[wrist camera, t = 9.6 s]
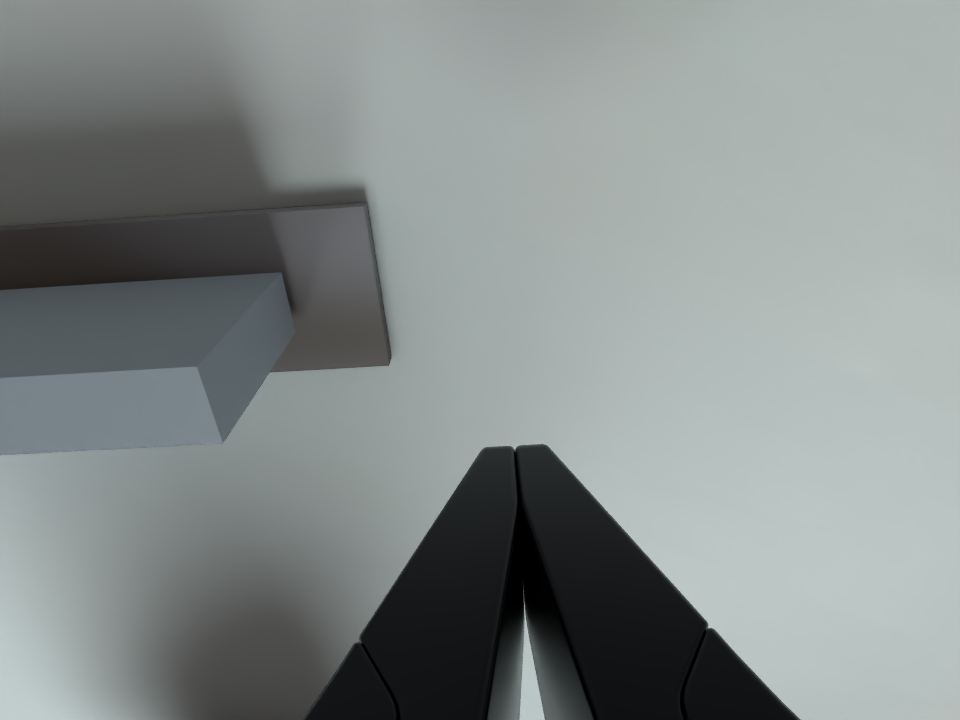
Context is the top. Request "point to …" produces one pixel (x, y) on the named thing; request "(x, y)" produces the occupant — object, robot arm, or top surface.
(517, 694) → the robot arm
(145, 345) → the grey flat block
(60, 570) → the top surface
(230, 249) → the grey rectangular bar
